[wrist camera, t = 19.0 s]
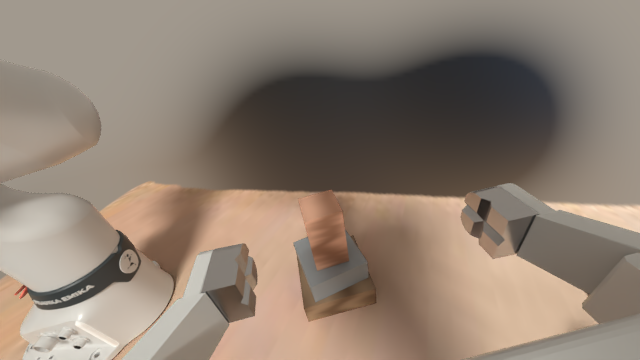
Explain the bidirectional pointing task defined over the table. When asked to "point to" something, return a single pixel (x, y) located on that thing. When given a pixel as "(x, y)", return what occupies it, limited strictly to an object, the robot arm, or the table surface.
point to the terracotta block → (325, 229)
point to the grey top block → (331, 270)
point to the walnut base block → (337, 297)
